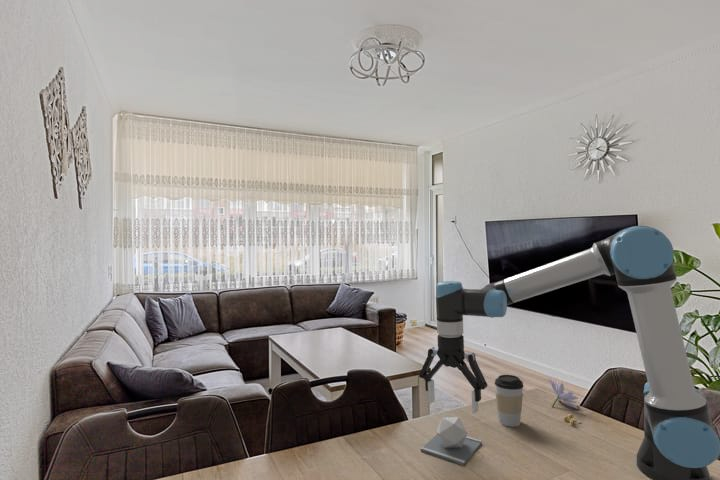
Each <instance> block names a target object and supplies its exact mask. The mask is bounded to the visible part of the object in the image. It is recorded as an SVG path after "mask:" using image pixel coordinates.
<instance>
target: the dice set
mask: <svg viewBox="0 0 720 480" xmlns="http://www.w3.org/2000/svg"><path fill="white" fill-rule="evenodd" d="M563 422H565V423H569V426H571V427H575V426H576V423H577V424H580V423H581V424H582V421H580V420H576V419H575V418H574V415H573V414H571V413H570V414H568V416H566V415H564V416H563Z"/></svg>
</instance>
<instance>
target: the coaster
mask: <svg viewBox="0 0 720 480" xmlns="http://www.w3.org/2000/svg"><path fill="white" fill-rule="evenodd" d="M482 444H483V440H480V439H477V438H475V437H470V436H468V435H467V436H466V438H465V441H464V443H463V446H462V448H444V446H443V444H442V442H441V440H440V438H439V437H438V435H437V434H435V435H434V436H433V437H432V438H431V439H430V440H428V442H427V443H426V444H425V445H423V446H421V447H420V452H422V453H425V454H428V455H431V456H433V457H438V458H440V459H444V460H447V461H450V462H452V463H455V464H459V465H461V466H465V465H466V463H467V462H468V461H469V460H470V459H471V457H472V456H473V455H474V454H475V453H476V451H477V450H478V449H479V447H480V446H481V445H482Z"/></svg>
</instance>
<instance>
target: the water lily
mask: <svg viewBox="0 0 720 480" xmlns="http://www.w3.org/2000/svg"><path fill="white" fill-rule="evenodd" d="M548 381H549V383H550V384H549V386H550V388H551V390H552V391H553V392H554V394H555V398H556V399H555V400H554V402H553V403H552V404H551V408H554V407H555V405H556V404H557V401H562V402H564V403H565V404H566V405H568V406H570V407H572V408H574V409H576V410H578V409H579V407H578V406H576V405H575V404H577V402H576V400H578V399H579V397H577V396H575V395H574V392H572V391H565V386H564V384H563V382H559V381H558V380H557V381H556V384H555V382H554V380H553V378H548ZM574 400H575V401H574Z"/></svg>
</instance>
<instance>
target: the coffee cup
mask: <svg viewBox="0 0 720 480" xmlns="http://www.w3.org/2000/svg"><path fill="white" fill-rule="evenodd" d="M494 386H495V392H494V393H495V401H496V410H497V419H498V420H497V422H499V424H501V425H503V426H506V427H518V426H520V425H521V418H522V417H521V415H522V407H523V396H524V395H523V390H524V389H523V388H524V381H522V380H521V379H520V378H519V377H518V376H516V375H514V374H513V375H512V374H501V375H499V376H498V377H497V378H495V380H494Z"/></svg>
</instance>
